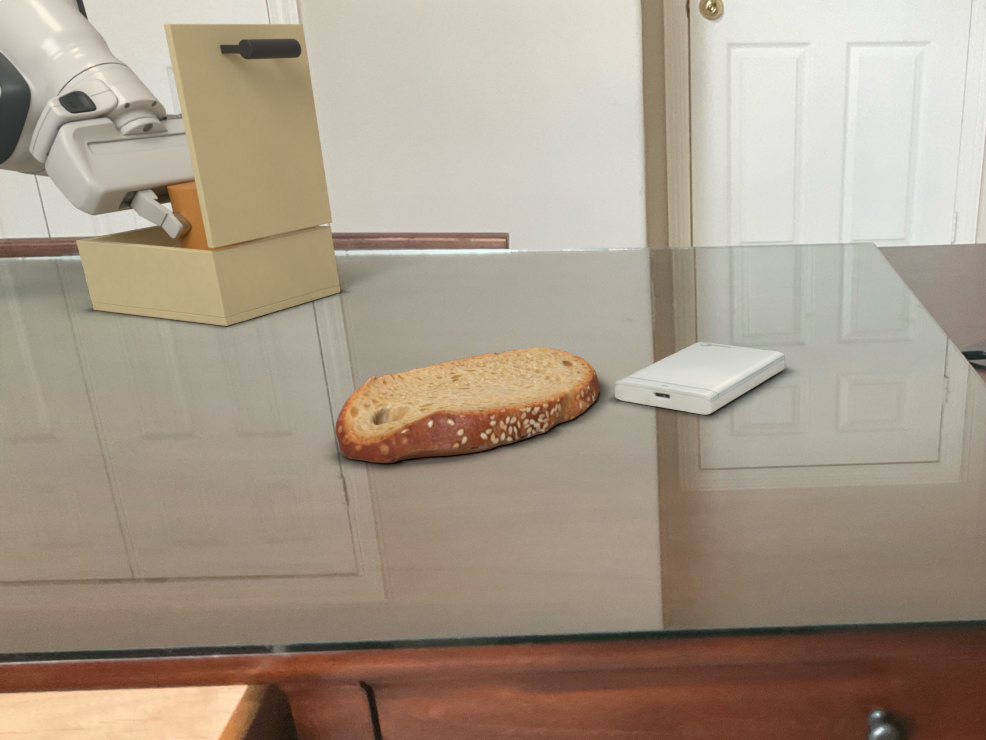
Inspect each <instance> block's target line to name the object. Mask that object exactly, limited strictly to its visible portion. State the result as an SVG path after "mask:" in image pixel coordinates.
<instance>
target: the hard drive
mask: <svg viewBox="0 0 986 740" xmlns="http://www.w3.org/2000/svg"><path fill="white" fill-rule="evenodd" d="M785 368H786V355H785V354H784V353H783V352H782V351H777V350H769V349H764V348H754V347H748V346H739V345H731V344H724V343H723V344H722V343H716V342H709V341H697V342H695V343H693V344H690V345H689V346H686V347H685V348H683V349H681V350H678V351H676V352H675V353H672V354H670V355H668V356H665V357H664V358H662V359H660V360H658V361H656V362H654V363H651V364H650V365H647V366H645V367H643V368H641V369H639V370H637V371H634V372H633V373H631V374H628V375H627V376H624V377H623V378H621V379H619V380H617V381H615V382H614V387H613V388H614V397H615V398H616V399H617V400H619V401H622V402H628V403H633V404H639V405H646V406H652V407H658V408H662V409H669V410H673V411H674V410H675V411H680V412H686V413H690V414H697V415H703V416H706V415H710V414H713V413H714V412H716V411H718V409H721V408H722V407H724V406H726V405H727V404H729V403H731V402H732V401H734V400H736V399H737V398H739V397H740V396H742V395H744V394H745V393H747V392H749V391H751V390H752V389H754V388H756V387H757V386H759V385H761V384H762V383H764V382H765V381H767V380H769V379H770V378H772V377H773V376H775V375H777V374H778V373H780V372H782V371H783V370H785Z"/></svg>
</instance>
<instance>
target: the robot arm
mask: <svg viewBox="0 0 986 740" xmlns="http://www.w3.org/2000/svg"><path fill="white" fill-rule="evenodd" d="M0 170H4V171H11V172H17V173H21V174H25V175H33V176H39V177H46V178H47V177H48V178H50V180H51V181H52V183H53V184H54V185H55V186H56V187H57V189H58V190H59V192H61V193H62V194H63V196H64V197H65V198H66V199H67V200H68V201H69V202H70V203H71V204H72V206H73V207H75V208H76V209H77V210H78V211H81V212H83V213H85V214H88V215H90V216H99V215H106V214H110V213H117V212H123V211H128V210H134V211H135V213H136V214H137V215H138V216H139V217H141V218H143V219H145V220H146V221H149V222H150V223H153V224H154V225H155V226H157V225H158V226H162V228H163V229H164V230H165V231H166V232H167V233H168V234H169V235H170V237H171V238H173V239H174V238H178V237H183V236H187V235H188V232H189V231H190V229H191V224H190V222H189V221H188V220H186V219H185V217H184V216H183V215H182V214H181V213H180V212H176V213H173V211H172V210H170V209H169V208H167V207H166V206H164V205H165V204H171V202H170V198H169V194H168V189H167V186H170V185H176V184H182V183H187V182H193V181H195V178H194V173H193V168H192V163H191V158H190V153H189V148H188V143H187V138H186V133H185V128H184V123H183V118H182V113H181V112H180V113H179V114H167V110H166V108H165V106H164V105H163V104H162V103H161V102H160V100H159V99H158V98H157V96H155V94H154V93H152V91H151V90H150V89H149V88H148V87H147V85H146V84H145V83H144V82H143V80H142V79H141V78H139V76H138V75H137V74H136V73H135V72H134V71H133V70H132V68H131V67H130V66H129V65H128V64H126V63H125V62H123V61H122V60H120V59H119V58H117V56H115V55H114V54H113V53H112V51H111V49H110V48H109V45H108V43H107V41H106V39H105V38H104V37H103V35H102V33H100V32H99V31H98V30H97V28H96V27H95V26H94V25H93V24H92V23H91V22H90V21H89V17H88V15H87V11H86V7H85V4H84V1H83V0H0Z"/></svg>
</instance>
